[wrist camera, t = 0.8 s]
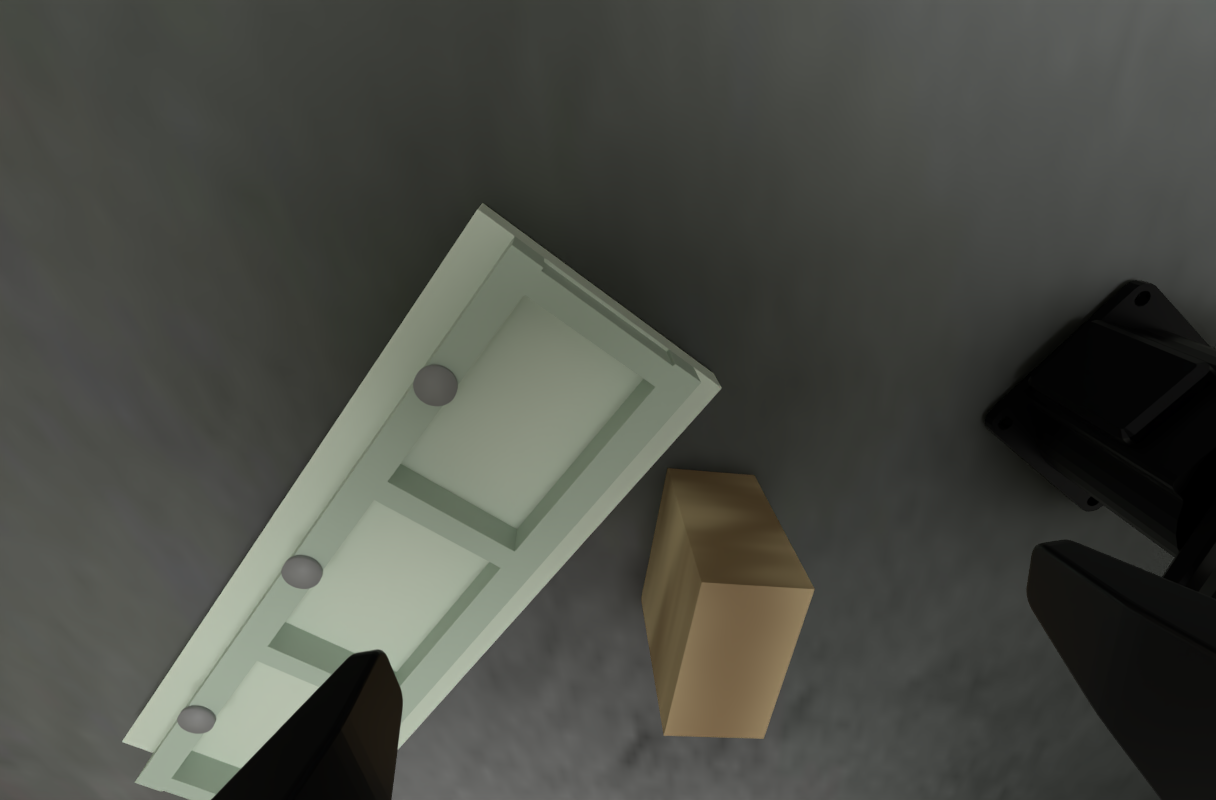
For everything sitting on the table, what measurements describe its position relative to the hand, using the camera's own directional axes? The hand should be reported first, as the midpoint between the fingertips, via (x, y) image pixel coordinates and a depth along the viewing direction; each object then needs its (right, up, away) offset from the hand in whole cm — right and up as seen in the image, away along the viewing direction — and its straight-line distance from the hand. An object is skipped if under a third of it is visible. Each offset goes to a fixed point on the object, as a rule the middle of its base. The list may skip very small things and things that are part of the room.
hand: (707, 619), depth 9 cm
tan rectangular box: (+2, -2, +15) cm, 16 cm away
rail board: (-9, -3, +15) cm, 17 cm away
